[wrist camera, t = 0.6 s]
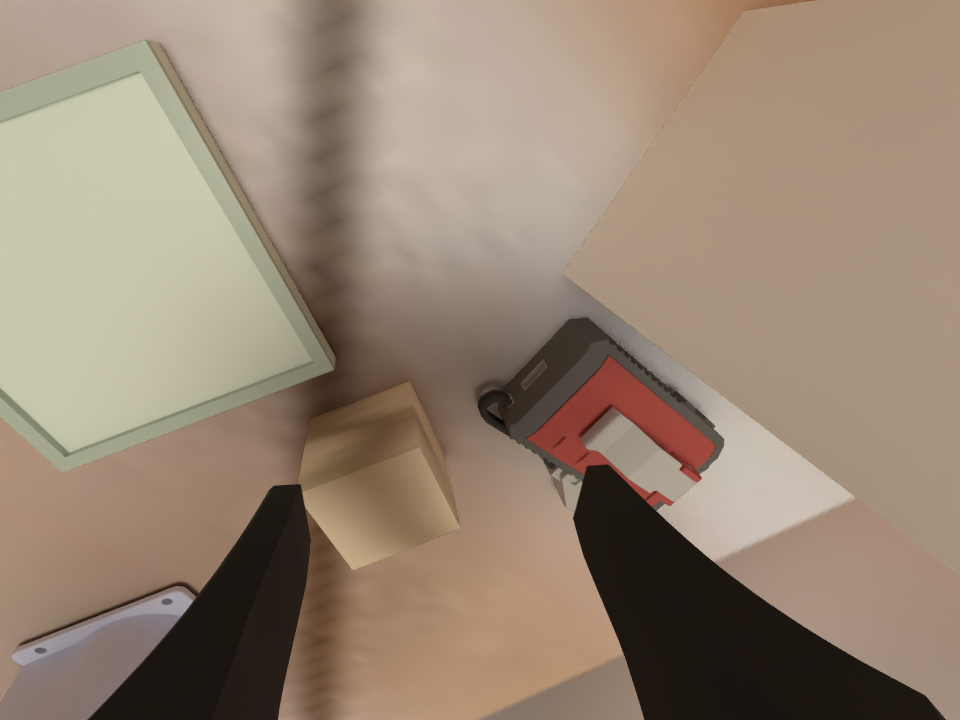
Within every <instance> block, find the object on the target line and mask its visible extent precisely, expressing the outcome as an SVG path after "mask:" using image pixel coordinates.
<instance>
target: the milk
mask: <svg viewBox="0 0 960 720" xmlns="http://www.w3.org/2000/svg"><path fill="white" fill-rule="evenodd" d="M562 274H563V275H564V276H566V277H567V278H568V279H570V280H571V281H572V282H574V283H575V284H576V285H578V286H579V287H580V288H582V289H583V290H584V291H586V292H587V293H588V294H589V295H591V296H592V297H593V298H595V299H596V300H597V301H599V302H600V303H601V304H603V305H604V306H605V307H607V308H608V309H609V310H611V311H612V312H613V313H614V314H616V315H617V316H618V317H620V318H621V319H622V320H624V321H625V322H626V323H628V324H629V325H630V326H632V327H633V328H634V329H636V330H637V331H638V332H639V333H641V334H642V335H643V336H645V337H646V338H647V339H649V340H650V341H651V342H653V343H654V344H655V345H657V346H658V347H659V348H660V349H662V350H663V351H664V352H666V353H667V354H668V355H670V356H671V357H672V358H674V359H675V360H676V361H678V362H679V363H680V364H682V365H683V366H684V367H685V368H687V369H688V370H689V371H691V372H692V373H693V374H695V375H696V376H697V377H699V378H700V379H701V380H703V381H704V382H705V383H707V384H708V385H709V386H710V387H712V388H713V389H714V390H716V391H717V392H718V393H720V394H721V395H722V396H724V397H725V398H726V399H728V400H729V401H730V402H732V403H733V404H734V405H735V406H737V407H738V408H739V409H741V410H742V411H743V412H745V413H746V414H747V415H749V416H750V417H751V418H753V419H754V420H755V421H756V422H758V423H759V424H760V425H762V426H763V427H764V428H766V429H767V430H768V431H770V432H771V433H772V434H774V435H775V436H776V437H778V438H779V439H780V440H781V441H783V442H784V443H785V444H787V445H788V446H789V447H791V448H792V449H793V450H795V451H796V452H797V453H799V454H800V455H801V456H803V457H804V458H805V459H806V460H808V461H809V462H810V463H812V464H813V465H814V466H816V467H817V468H818V469H820V470H821V471H822V472H824V473H825V474H826V475H827V476H829V477H830V478H831V479H833V480H834V481H835V482H837V483H838V484H839V485H841V486H842V487H843V488H845V489H846V490H847V491H849V492H850V493H851V494H852V495H854V496H855V497H856V498H858V499H859V500H860V501H862V502H863V503H864V504H866V505H867V506H868V507H870V508H871V509H872V510H874V511H875V512H876V513H877V514H879V515H880V516H881V517H883V518H884V519H885V520H887V521H888V522H889V523H891V524H892V525H894V526H895V527H896V528H897V529H899V530H900V531H901V532H902V533H904V534H905V535H906V536H908V537H909V538H910V539H912V540H913V541H914V542H916V543H917V544H918V545H920V546H921V547H922V548H924V549H925V550H926V551H927V552H929V553H930V554H931V555H933V556H934V557H936V558H937V559H938V560H939V561H941V562H942V563H943V564H945V565H946V566H947V567H949V568H950V569H951V570H953V571H954V572H955V573H957V574H958V575H959V576H960V0H815V1H808V2H801V3H795V4H788V5H781V6H775V7H768V8H761V9H755V10H748V11H743V12H742V14H741V15H740V17H739V18H738V19H737V21H736V22H735V24H734V25H733V27H732V28H731V30H730V31H729V32H728V34H727V35H726V37H725V38H724V40H723V41H722V43H721V44H720V46H719V47H718V48H717V50H716V51H715V53H714V54H713V56H712V57H711V59H710V60H709V61H708V63H707V64H706V66H705V67H704V69H703V70H702V72H701V73H700V74H699V76H698V77H697V79H696V80H695V82H694V83H693V85H692V86H691V88H690V89H689V90H688V92H687V93H686V95H685V96H684V98H683V99H682V101H681V102H680V103H679V105H678V106H677V108H676V109H675V111H674V112H673V114H672V115H671V117H670V118H669V119H668V121H667V122H666V124H665V125H664V127H663V128H662V130H661V131H660V132H659V134H658V135H657V137H656V138H655V140H654V141H653V143H652V144H651V145H650V147H649V148H648V150H647V151H646V153H645V154H644V156H643V157H642V159H641V160H640V161H639V163H638V164H637V166H636V167H635V169H634V170H633V172H632V173H631V174H630V176H629V177H628V179H627V180H626V182H625V183H624V185H623V186H622V187H621V189H620V190H619V192H618V193H617V195H616V196H615V198H614V199H613V201H612V202H611V203H610V205H609V206H608V208H607V209H606V211H605V212H604V214H603V215H602V216H601V218H600V219H599V221H598V222H597V224H596V225H595V227H594V228H593V230H592V231H591V232H590V234H589V235H588V237H587V238H586V240H585V241H584V243H583V244H582V245H581V247H580V248H579V250H578V251H577V253H576V254H575V256H574V257H573V259H572V260H571V261H570V263H569V264H568V266H567V267H566V269H565V270H564V272H563V273H562Z"/></svg>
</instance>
